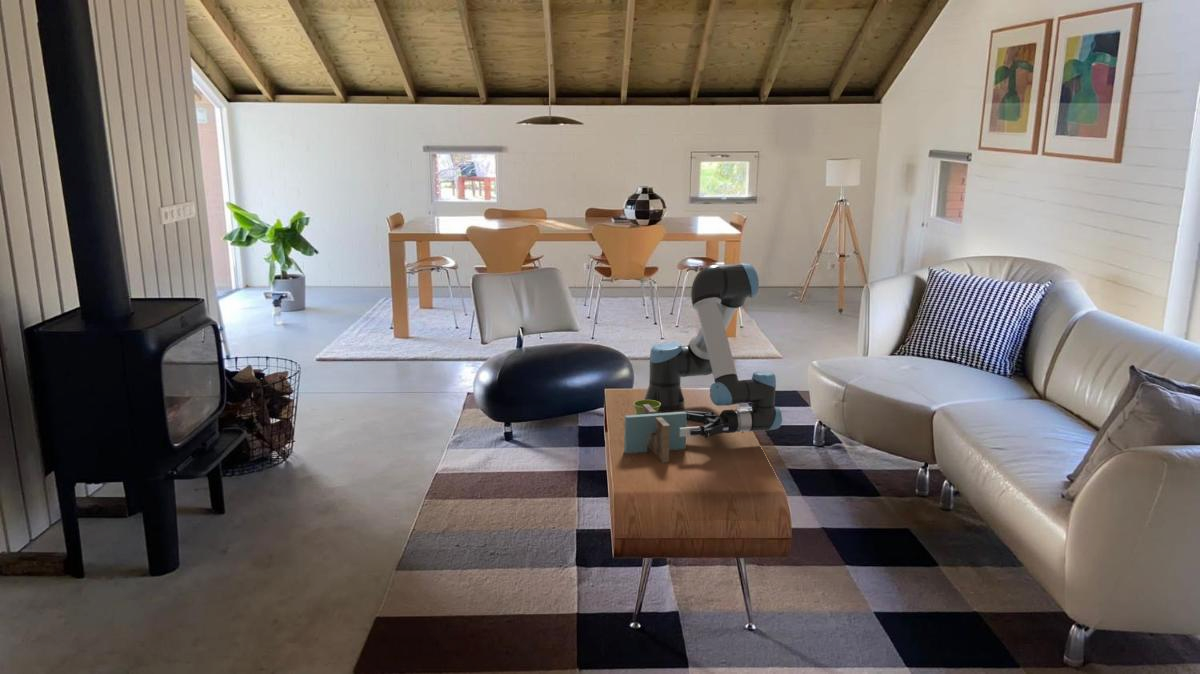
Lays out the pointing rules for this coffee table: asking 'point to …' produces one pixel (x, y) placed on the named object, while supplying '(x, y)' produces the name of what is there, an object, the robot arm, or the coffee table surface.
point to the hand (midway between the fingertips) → (672, 425)
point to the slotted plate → (653, 430)
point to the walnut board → (658, 436)
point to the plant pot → (652, 403)
